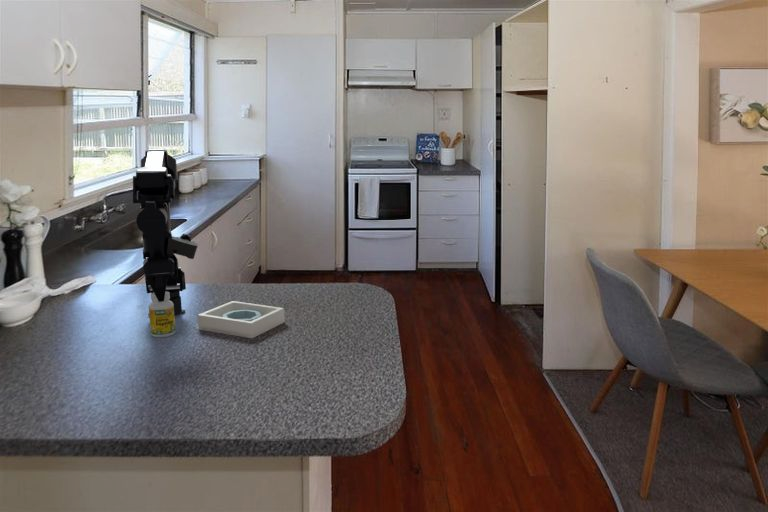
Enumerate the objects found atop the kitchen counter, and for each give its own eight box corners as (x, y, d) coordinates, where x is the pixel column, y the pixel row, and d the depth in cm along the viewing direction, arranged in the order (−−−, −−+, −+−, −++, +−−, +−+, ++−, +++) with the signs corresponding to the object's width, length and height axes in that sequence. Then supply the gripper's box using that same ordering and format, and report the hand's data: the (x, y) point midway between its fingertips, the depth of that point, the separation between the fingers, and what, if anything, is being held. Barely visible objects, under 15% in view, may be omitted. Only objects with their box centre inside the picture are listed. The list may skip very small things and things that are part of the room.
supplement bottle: (171, 328, 152) (169, 288, 150) (178, 335, 148) (176, 294, 146) (148, 333, 149) (144, 292, 147) (154, 339, 145) (151, 297, 143)
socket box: (198, 329, 152) (197, 314, 151) (233, 314, 163) (232, 300, 163) (252, 338, 146) (251, 323, 145) (284, 322, 157) (283, 308, 156)
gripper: (197, 232, 138) (201, 303, 141) (190, 219, 155) (194, 283, 158) (140, 235, 134) (146, 308, 137) (140, 221, 151) (145, 287, 154)
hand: (160, 295), depth 147 cm, fingers open, 9 cm apart
